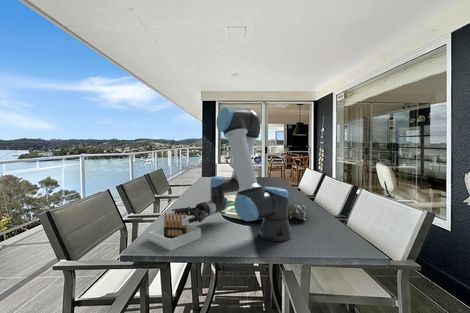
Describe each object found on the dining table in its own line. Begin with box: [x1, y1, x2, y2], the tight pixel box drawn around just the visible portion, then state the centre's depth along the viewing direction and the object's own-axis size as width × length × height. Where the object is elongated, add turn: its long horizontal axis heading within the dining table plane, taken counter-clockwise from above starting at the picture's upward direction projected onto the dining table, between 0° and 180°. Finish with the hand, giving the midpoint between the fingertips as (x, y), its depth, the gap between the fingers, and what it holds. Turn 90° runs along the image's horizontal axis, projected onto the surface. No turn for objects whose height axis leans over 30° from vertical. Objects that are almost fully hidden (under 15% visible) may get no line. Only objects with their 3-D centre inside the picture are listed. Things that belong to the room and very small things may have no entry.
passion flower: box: [288, 202, 308, 221], centre depth 145 cm, size 11×11×12 cm
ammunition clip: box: [163, 211, 187, 238], centre depth 117 cm, size 11×2×12 cm, turn 84°
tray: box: [148, 224, 202, 252], centre depth 117 cm, size 16×18×4 cm
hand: (172, 219), depth 115 cm, fingers open, 13 cm apart
